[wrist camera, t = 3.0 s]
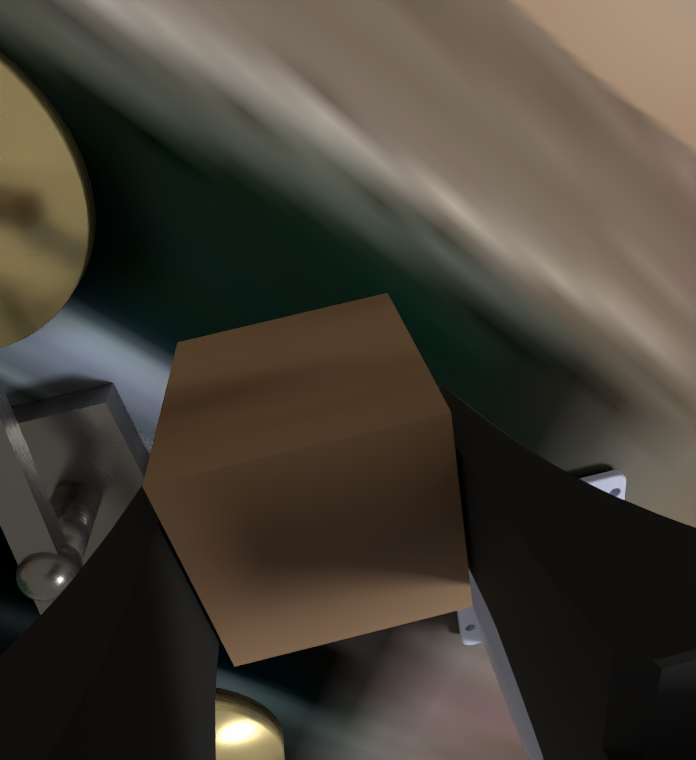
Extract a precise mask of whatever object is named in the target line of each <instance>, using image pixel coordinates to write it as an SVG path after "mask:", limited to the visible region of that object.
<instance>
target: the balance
mask: <svg viewBox="0 0 696 760" xmlns="http://www.w3.org/2000/svg"><path fill="white" fill-rule="evenodd" d="M95 225H96V215H95V202H94V195H93V191H92V186H91V181H90V177H89V174H88V171H87V168H86V165H85V163H84V160H83V157H82V154H81V152H80V150H79V148H78V146H77V144H76V142H75V140H74V138H73V136H72V134H71V132H70V130H69V129H68V127H67V125H66V124H65V122H64V121H63V119H62V117H61V116H60V114H59V113H58V111H57V110H56V108H55V107H54V106H53V104H52V103H51V102H50V101H49V99H48V98H47V97H46V96H45V94H44V93H43V92H42V90H41V89H40V88H39V87H38V86H37V85H36V84H35V83H34V82H33V81H32V80H31V79H30V78H29V77H28V76H27V75H26V73H25V72H24V71H23V70H22V69H21V68H20V67H19V66H17V65H16V64H15V63H14V62H13V61H12V60H10V59H9V58H8V57H7V56H6V55H4V54H3V53H2V52H1V51H0V348H2V347H5V346H8V345H11V344H13V343H15V342H17V341H19V340H22V339H24V338H26V337H28V336H29V335H31V334H32V333H34V332H35V331H37V330H39V329H40V328H42V327H43V326H44V325H45V324H46V323H47V322H49V321H50V320H51V319H52V318H53V317H54V316H55V315H56V314H57V313H58V312H59V310H60V309H61V308H62V307H63V306H64V304H65V303H66V302H67V301H68V299H69V298H70V296H71V295H72V293H73V292H74V290H75V289H76V287H77V286H78V284H79V282H80V280H81V279H82V277H83V275H84V273H85V271H86V268H87V266H88V263H89V260H90V258H91V254H92V249H93V244H94V240H95ZM149 458H150V457H149V455H148V453H147V451H146V449H145V447H144V445H143V443H142V441H141V439H140V437H139V435H138V433H137V431H136V429H135V427H134V425H133V423H132V421H131V419H130V416H129V414H128V412H127V410H126V408H125V406H124V404H123V402H122V400H121V398H120V396H119V394H118V392H117V390H116V388H115V386H114V384H113V383H112V384H108V385H103V386H99V387H95V388H91V389H87V390H82V391H78V392H74V393H70V394H65V395H61V396H57V397H53V398H49V399H44V400H40V401H36V402H32V403H27V404H23V405H19V406H15V407H11V405H10V403H9V401H8V398H7V396H6V393H5V391H4V389H3V386H2V384H1V381H0V526H1V528H2V530H3V532H4V535H5V537H6V539H7V541H8V544H9V546H10V548H11V550H12V552H13V555H14V557H15V559H16V561H17V564H18V566H17V570H16V580H17V584H18V586H19V588H20V590H21V591H22V592H23V593H24V594H25V595H26V596H27V597H29V598H31V599H33V600H34V602H35V604H36V606H37V608H38V611H39V613H40V615H42V613H43V612H44V611H45V610H46V609H47V608H48V607H49V606H50V605H51V604H52V603H53V601H54V600H55V599H56V598H57V597H58V596H59V595H60V594H61V592H62V591H63V590H64V589H65V588H66V587H67V585H68V584H69V583H70V582H71V581H72V579H73V578H74V577H75V576H76V575H77V573H78V572H79V571H80V569H81V568H82V567H83V566H84V564H85V563H86V562H87V560H88V559H89V558H90V557H91V555H92V554H93V553H94V551H95V550H96V549H97V548H98V546H99V545H100V544H101V542H102V541H103V540H104V539H105V537H106V536H107V535H108V533H109V532H110V531H111V529H112V528H113V526H114V525H115V524H116V522H117V521H118V519H119V518H120V516H121V515H122V514H123V512H124V511H125V509H126V508H127V506H128V505H129V504H130V502H131V501H132V499H133V498H134V496H135V495H136V493H137V492H138V491H139V489H140V488H141V486H142V485H143V482H144V478H145V474H146V470H147V466H148V462H149ZM215 730H216V760H284V740H283V731H282V728H281V725H280V723H279V721H278V720H277V718H276V717H275V716H274V715H273V714H272V712H271V711H270V710H269V709H267V708H266V707H265V706H263V705H262V704H260V703H259V702H257V701H255V700H253V699H251V698H249V697H247V696H244V695H242V694H239V693H236V692H233V691H229V690H225V689H221V688H216V691H215Z"/></svg>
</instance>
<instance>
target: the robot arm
mask: <svg viewBox="0 0 696 760" xmlns="http://www.w3.org/2000/svg"><path fill="white" fill-rule="evenodd" d="M439 390H440V392H441V394H442V396H443V398H444V400H445V402H446V403H447V405H448V407H449V409H450V411H451V416H452V425H453V434H454V443H455V452H456V461H457V470H458V479H459V488H460V497H461V506H462V515H463V524H464V533H465V542H466V551H467V560H468V569H469V578H470V587H471V596H472V605H473V607H470V608H466V609H462V610H458V611H457V617H458V624H459V632H460V637H461V640H462V642H463V643H464V644H465V645H473V644H477V643H481V642H483V643H484V646H485V648H486V651H487V654H488V656H489V659H490V661H491V664H492V667H493V669H494V672H495V674H496V677H497V680H498V682H499V685H500V688H501V690H502V693H503V695H504V698H505V701H506V703H507V706H508V708H509V711H510V714H511V716H512V719H513V722H514V724H515V727H516V729H517V732H518V735H519V737H520V740H521V742H522V745H523V748H524V750H525V753H526V755H527V757H528V759H529V760H696V528H695V527H692V526H689V525H686V524H683V523H680V522H678V521H675V520H672V519H670V518H667V517H664V516H661V515H659V514H656V513H654V512H651V511H649V510H647V509H644V508H642V507H639V506H637V505H635V504H632V503H630V502H627V501H625V500H624V498H625V488H626V478H625V476H624V475H623V474H622V473H621V472H620V471H618V470H612V471H608V472H604V473H600V474H596V475H592V476H588V477H583V478H577V477H575V476H573V475H571V474H569V473H567V472H566V471H564V470H562V469H560V468H559V467H557V466H555V465H553V464H552V463H550V462H549V461H547V460H545V459H544V458H542V457H541V456H539V455H537V454H536V453H534V452H532V451H531V450H529V449H528V448H526V447H525V446H523V445H522V444H520V443H519V442H517V441H516V440H515V439H513V438H512V437H510V436H509V435H508V434H506V433H505V432H503V431H502V430H500V429H499V428H498V427H496V426H495V425H494V424H492V423H491V422H489V421H488V420H487V419H486V418H484V417H483V416H482V415H480V414H479V413H478V412H477V411H475V410H474V409H473V408H471V407H470V406H469V405H468V404H466V403H465V402H464V401H463V400H462V399H460V398H459V397H458V396H457V395H456V394H454V393H453V392H452V391H451V390H449V389H447V388H446V387H444V388H440V389H439ZM142 486H143V485H142ZM142 486H141V488H140V489H139V491H138V492H137V493H136V495H135V496H134V498H133V499H132V501H131V502H130V504H129V505H128V506H127V508H126V509H125V511H124V512H123V514H122V515H121V516H120V518H119V519H118V521H117V522H116V524H115V525H114V526H113V528H112V529H111V531H110V532H109V533H108V535H107V536H106V537H105V539H104V540H103V541H102V542H101V544H100V545H99V546H98V548H97V549H96V550H95V551H94V553H93V554H92V555H91V557H90V558H89V559H88V560H87V562H86V563H85V564H84V566H83V567H82V568H81V569H80V571H79V572H78V573H77V575H76V576H75V577H74V578H73V579H72V581H71V582H70V583H69V584H68V585H67V587H66V588H65V589H64V590H63V591H62V592H61V594H60V595H59V596H58V597H57V598H56V599H55V600H54V601H53V603H52V604H51V605H50V606H49V607H48V608H47V609H46V610H45V611H44V612H43V613H42V615H41V616H40V617H39V618H38V619H37V620H36V621H35V622H34V623H33V624H32V625H31V626H30V627H29V628H28V630H27V631H26V632H25V633H24V634H23V635H22V636H21V637H20V638H19V639H18V640H16V641H15V642H14V643H13V644H12V645H11V646H10V647H9V648H8V649H7V650H6V651H5V652H4V653H3V654H2V655H1V656H0V760H216V730H215V691H216V672H217V661H218V650H219V639H220V637H219V635H218V633H217V631H216V629H215V627H214V625H213V623H212V621H211V619H210V617H209V615H208V614H207V612H206V610H205V608H204V606H203V604H202V602H201V600H200V598H199V596H198V594H197V592H196V590H195V588H194V586H193V584H192V582H191V580H190V578H189V576H188V574H187V572H186V571H185V569H184V567H183V565H182V563H181V561H180V559H179V557H178V555H177V553H176V551H175V549H174V547H173V545H172V543H171V541H170V539H169V537H168V535H167V533H166V531H165V530H164V528H163V526H162V524H161V522H160V520H159V518H158V516H157V514H156V512H155V510H154V508H153V506H152V504H151V502H150V500H149V498H148V496H147V494H146V492H145V490H144V489H143V487H142Z"/></svg>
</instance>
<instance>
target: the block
mask: <svg viewBox="0 0 696 760" xmlns="http://www.w3.org/2000/svg"><path fill="white" fill-rule="evenodd" d="M142 487H143V489H144V490H145V492H146V494H147V496H148V498H149V500H150V502H151V504H152V506H153V508H154V510H155V512H156V514H157V516H158V518H159V520H160V522H161V524H162V526H163V528H164V530H165V531H166V533H167V535H168V537H169V539H170V541H171V543H172V545H173V547H174V549H175V551H176V553H177V555H178V557H179V559H180V561H181V563H182V565H183V567H184V569H185V571H186V572H187V574H188V576H189V578H190V580H191V582H192V584H193V586H194V588H195V590H196V592H197V594H198V596H199V598H200V600H201V602H202V604H203V606H204V608H205V610H206V612H207V614H208V615H209V617H210V619H211V621H212V623H213V625H214V627H215V629H216V631H217V633H218V635H219V637H220V639H221V641H222V643H223V645H224V647H225V649H226V651H227V653H228V655H229V656H230V658H231V660H232V662H233V664H234V666H239V665H243V664H247V663H251V662H255V661H259V660H263V659H267V658H271V657H275V656H279V655H283V654H287V653H291V652H295V651H299V650H303V649H307V648H310V647H314V646H318V645H322V644H326V643H330V642H334V641H338V640H342V639H346V638H350V637H354V636H358V635H362V634H366V633H370V632H374V631H378V630H382V629H386V628H390V627H394V626H398V625H402V624H406V623H410V622H414V621H418V620H422V619H426V618H430V617H434V616H438V615H442V614H446V613H450V612H454V611H458V610H462V609H466V608H470V607H473V605H472V596H471V587H470V578H469V569H468V560H467V551H466V542H465V533H464V524H463V515H462V506H461V497H460V488H459V479H458V470H457V461H456V452H455V443H454V434H453V425H452V416H451V411H450V409H449V407H448V405H447V403H446V402H445V400H444V398H443V396H442V394H441V392H440V390H439V389H438V387H437V385H436V383H435V381H434V379H433V377H432V375H431V374H430V372H429V370H428V368H427V366H426V364H425V362H424V361H423V359H422V357H421V355H420V353H419V351H418V349H417V347H416V346H415V344H414V342H413V340H412V338H411V336H410V334H409V333H408V331H407V329H406V327H405V325H404V323H403V321H402V320H401V318H400V316H399V314H398V312H397V310H396V308H395V306H394V305H393V303H392V301H391V299H390V297H389V295H388V293H386V294H381V295H377V296H373V297H369V298H364V299H360V300H356V301H352V302H347V303H343V304H339V305H335V306H330V307H326V308H322V309H318V310H313V311H309V312H305V313H301V314H296V315H292V316H288V317H284V318H279V319H275V320H271V321H267V322H262V323H258V324H254V325H250V326H245V327H241V328H237V329H233V330H229V331H224V332H220V333H216V334H212V335H207V336H203V337H199V338H195V339H190V340H186V341H182V342H178V343H177V347H176V351H175V355H174V359H173V363H172V368H171V372H170V376H169V380H168V384H167V388H166V392H165V396H164V400H163V404H162V408H161V413H160V417H159V421H158V425H157V429H156V433H155V437H154V441H153V445H152V449H151V453H150V458H149V462H148V466H147V470H146V474H145V478H144V482H143V486H142Z"/></svg>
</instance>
